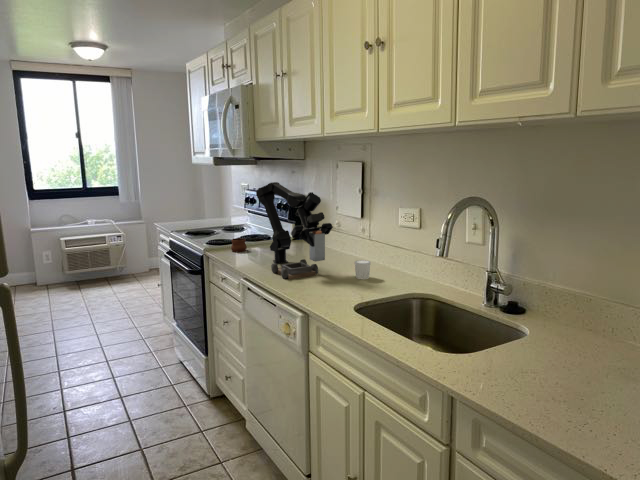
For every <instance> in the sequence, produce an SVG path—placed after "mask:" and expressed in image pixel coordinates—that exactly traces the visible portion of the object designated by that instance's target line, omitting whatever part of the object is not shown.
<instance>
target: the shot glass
mask: <svg viewBox="0 0 640 480" xmlns="http://www.w3.org/2000/svg"><path fill="white" fill-rule="evenodd" d="M354 272H355V278H356V279H358V280H367V279H369V278H370V272H371V261H370V260H364V259H359V260H355V261H354Z"/></svg>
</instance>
